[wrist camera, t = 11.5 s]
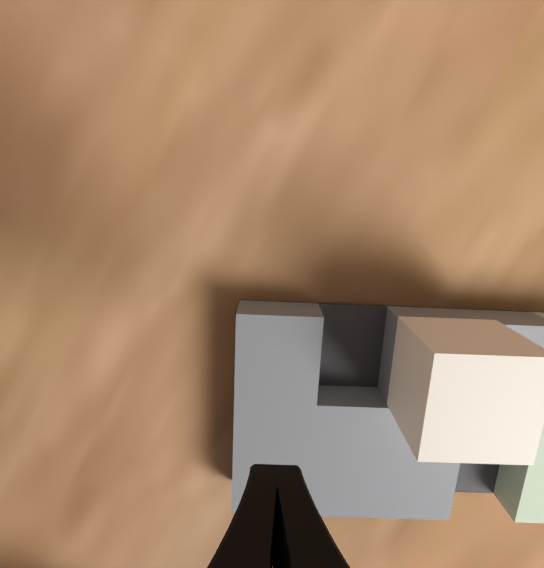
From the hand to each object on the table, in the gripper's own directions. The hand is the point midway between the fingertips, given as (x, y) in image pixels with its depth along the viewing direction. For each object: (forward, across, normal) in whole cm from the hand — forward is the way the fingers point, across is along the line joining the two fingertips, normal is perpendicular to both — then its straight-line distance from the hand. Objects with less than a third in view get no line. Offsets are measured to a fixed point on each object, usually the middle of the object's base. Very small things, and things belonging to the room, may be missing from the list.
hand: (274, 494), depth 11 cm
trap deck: (+10, -8, +3) cm, 13 cm away
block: (+8, -8, -1) cm, 11 cm away
